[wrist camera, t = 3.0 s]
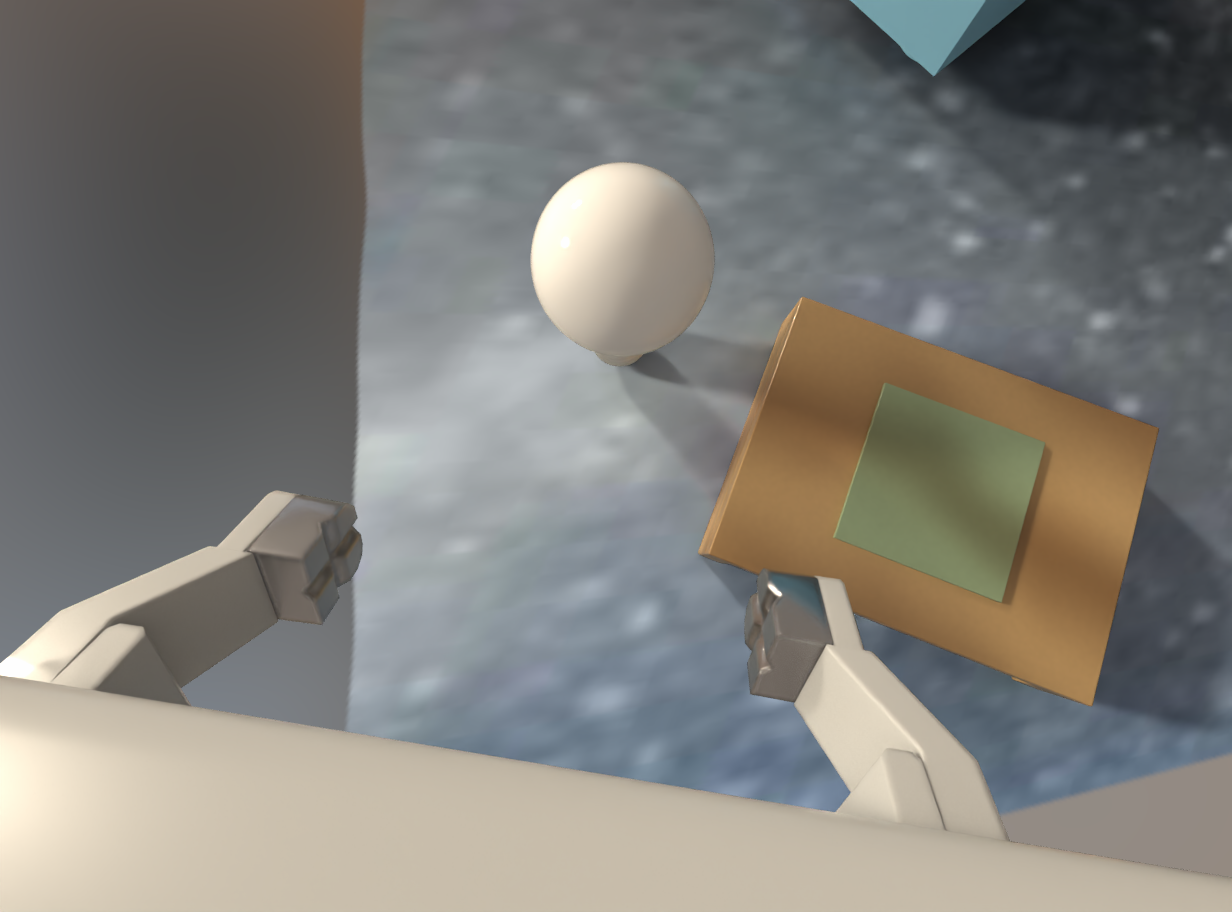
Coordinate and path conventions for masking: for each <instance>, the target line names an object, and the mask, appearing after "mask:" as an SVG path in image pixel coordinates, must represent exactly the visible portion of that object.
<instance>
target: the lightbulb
mask: <svg viewBox="0 0 1232 912" xmlns="http://www.w3.org/2000/svg"><path fill="white" fill-rule="evenodd" d="M714 262H715V255H714V244H713V238H712V234H711V230H710V227H709V224H708V222H707V219H706V217H705V215H704V213H703V211H702V209H701V207H700V206H699V204H698V203H697V201H696V200H695V199H694V197H693V196H692V195H691V194H690V193H689V191H688V190H687V189H686V188H685V187H684V186H683V185H681V184H680V183H679V182H678V181H676V180H675V179H674V178H672V177H671V176H669V175H668V174H666V173H664V172H662V171H660V170H658V169H655V168H653V167H650V166H646V165H642V164H637V163H629V162H617V163H608V164H604V165H600V166H596V167H593V168H591V169H588V170H586V171H584V172H582V173H580V174H578V175H577V176H575V177H574V178H572V179H571V180H569V181H568V182H567V183H566V184H564V185H563V186H562V187H561V188H560V189H559V190H558V191H557V192H556V193H555V195H554V196H553V197H552V198H551V200H550V201H549V202H548V204H547V205H546V207H545V209H544V210H543V212H542V214H541V216H540V219H539V221H538V223H537V226H536V229H535V232H534V236H533V241H532V247H531V273H532V279H533V284H534V288H535V291H536V294H537V296H538V299H539V301H540V303H541V305H542V307H543V309H544V311H545V313H546V314H547V316H548V317H549V319H550V320H551V321H552V323H553V324H554V325H555V326H556V327H557V328H558V329H559V330H560V331H561V332H562V333H563V334H564V335H565V336H566V337H568V338H569V339H570V340H572V341H573V342H575V343H576V344H578V345H580V346H581V347H583V348H585V349H588V350H590V351H593V352H595V354H596V355H597V356H598V358H599V359H601V360H602V361H603V362H605V363H607V364H609V365H612V366H627V365H630V364H632V363H634V362H636V361H637V360H638V359H639V358H640V357H641V356H642V355H643V354H645V353H649V352H652V351H654V350H657V349H659V348H661V347H663V346H665V345H667V344H668V343H670V342H672V341H673V340H675V339H676V338H677V337H678V336H680V335H681V334H682V333H683V332H684V331H685V330H686V329H687V328H688V327H689V326H690V325H691V324H692V322H693V321H694V320H695V318H696V317H697V316H698V314H699V312H700V311H701V309H702V307H703V305H704V303H705V301H706V299H707V296H708V294H709V291H710V287H711V284H712V279H713V274H714Z"/></svg>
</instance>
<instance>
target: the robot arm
mask: <svg viewBox="0 0 1232 912" xmlns="http://www.w3.org/2000/svg"><path fill="white" fill-rule="evenodd" d="M356 520H357V515H356V511H355V507H354V506H353V505H351V504H349V503H344V502H338V501H333V500H328V499H322V498H317V497H311V496H306V495H297V494H292V493H286V492H281V491H274V492H272V493H269V494H268V495H266V496H265V498H263V500H262V501H261V502H260V503H259V504H258V505H257V506H256V507H255V508H254V509H253V510H252V511H251V512H250V513H249V514H248V515H247V516H246V517H245V519H243V520H242V522H241V523H240V524H239V525H238V526H237V527H236V528H235V529H234V530H233V531H232V532H231V533H230V534H229V535H228V536H227V537H226V538H225V539H224V540H223V542H221V544H220V545H219V546H218V547H212V546H208V547H206V548H204V549H201V550H199V551H197V552H195V553H192V554H190V555H188V556H185V557H183V558H181V559H178V560H176V561H174V562H172V563H169V564H167V565H165V566H162V567H160V568H158V569H156V570H153V571H151V572H149V573H146V574H144V575H142V576H139V577H137V578H135V579H133V580H130V581H128V582H126V583H123V584H121V585H119V586H116V587H114V588H112V589H109V590H107V591H105V592H103V593H100V594H98V595H96V596H93V597H91V598H89V599H86V600H84V601H82V602H80V603H77V604H75V605H73V606H70V607H68V608H66V609H64V610H61V611H60V612H59V613H58V614H56V615H55V616H54V617H53V618H52V619H51V620H50V621H48V622H47V623H46V624H45V625H44V626H43V627H42V628H41V629H39V630H38V631H37V632H36V633H35V634H34V635H33V636H32V637H30V638H29V639H28V640H27V641H26V642H25V643H24V644H22V645H21V646H20V647H19V648H18V649H17V650H16V651H15V652H13V654H11V655H10V656H9V657H8V658H7V659H6V660H4V661H3V662H2V663H1V664H0V912H1232V877H1227V876H1221V875H1214V874H1208V873H1201V872H1194V871H1188V870H1182V869H1176V868H1170V867H1164V866H1158V865H1152V864H1146V863H1140V862H1134V861H1127V860H1121V859H1115V858H1109V857H1103V856H1097V855H1091V854H1085V853H1079V852H1073V851H1067V850H1061V849H1055V848H1048V847H1042V846H1036V845H1030V844H1024V843H1018V842H1012V841H1010V840H1009V837H1008V835H1007V832H1006V830H1005V828H1004V825H1003V823H1002V820H1001V818H1000V815H999V813H998V810H997V808H996V805H995V803H994V800H993V798H992V795H991V793H990V790H989V788H988V785H987V783H986V780H985V778H984V775H983V773H982V770H981V768H980V766H979V763H978V761H977V760H976V759H975V758H974V757H973V756H972V755H971V754H970V752H969V751H968V750H967V749H966V748H965V747H964V746H963V745H962V744H961V743H960V742H959V741H958V740H957V739H956V738H955V737H954V736H953V735H952V734H951V733H950V732H949V731H948V730H947V729H946V728H945V727H944V726H943V725H942V724H941V722H940V721H939V720H938V719H937V718H936V717H935V716H934V715H933V714H932V713H931V712H930V711H929V710H928V709H927V708H926V707H925V706H924V705H923V704H922V703H921V702H920V701H919V700H918V699H917V698H916V697H915V696H914V695H913V694H912V692H911V691H910V690H909V689H908V688H907V687H906V686H905V685H904V684H903V683H902V682H901V681H900V680H899V679H898V678H897V677H896V676H895V675H894V674H893V673H892V672H891V671H890V670H889V669H888V668H887V667H886V666H885V665H884V664H883V662H882V661H881V660H880V659H879V658H878V657H877V656H876V655H875V654H874V653H873V652H871V651H865V650H864V648H863V644H862V641H861V638H860V634H859V631H858V628H857V624H856V621H855V618H854V614H853V611H852V608H851V604H850V601H849V598H848V594H847V591H846V587H845V584H844V583H843V582H842V580H841V579H835V578H828V577H821V576H812V575H807V574H800V573H794V572H787V571H780V570H773V569H766V568H763V569H762V570H761V572H760V573H759V576H758V578H757V581H756V582H757V591H758V592H757V593H755V594H754V595H752V596H750V599H749V602H748V605H747V609H746V615H745V621H744V634H745V644H746V645H747V646H748V647H749V649H750V650H751V651H752V652H751V655H750V657H749V660H748V662H747V668H748V677H749V687H750V694H752V695H758V696H763V697H768V698H773V699H779V700H784V701H789V702H795V703H794V706H795V707H796V709H797V710H798V712H799V713H800V715H801V716H802V718H803V719H804V721H805V722H806V724H807V726H808V727H809V729H810V730H811V732H812V733H813V735H814V736H815V738H816V739H817V741H818V742H819V744H820V746H821V747H822V749H823V750H824V752H825V753H826V755H827V756H828V758H829V759H830V761H831V762H832V764H833V766H834V767H835V769H836V770H837V772H838V773H839V775H840V776H841V778H842V779H843V781H844V782H845V784H846V786H847V787H848V789H849V790H850V792H851V793H850V795H849V796H848V797H847V798H846V800H845V801H844V802H843V804H842V805H841V806H840V807H839V809H838V810H837V811H836V812H829V811H823V810H817V809H811V808H805V807H799V806H792V805H786V804H780V803H774V802H768V801H762V800H756V799H750V798H744V797H738V796H732V795H726V794H720V793H714V792H707V791H701V790H695V789H689V788H683V787H677V786H671V785H665V784H659V783H653V782H647V781H641V780H635V779H628V778H622V777H616V776H610V775H604V774H598V773H592V772H586V771H580V770H574V769H568V768H562V767H556V766H550V765H544V764H538V763H532V762H526V761H520V760H514V759H508V758H502V757H496V756H490V755H484V754H478V753H472V752H466V751H460V750H453V749H447V748H441V747H435V746H429V745H423V744H417V743H411V742H405V741H399V740H393V739H387V738H381V737H375V736H369V735H363V734H356V733H350V732H344V731H338V730H332V729H326V728H320V727H314V726H308V725H302V724H296V723H289V722H284V721H277V720H271V719H266V718H259V717H253V716H247V715H241V714H235V713H229V712H223V711H217V710H210V709H205V708H199V707H193V706H191V704H190V703H189V701H188V700H187V698H186V696H185V695H184V693H183V691H182V690H181V688H182V687H183V686H185V685H186V684H187V683H189V682H191V681H192V680H193V679H195V678H196V677H198V676H199V675H201V674H202V673H204V672H205V671H207V670H208V669H210V668H211V667H213V666H214V665H215V664H217V663H218V662H220V661H221V660H223V659H224V658H226V657H227V656H229V655H230V654H231V653H233V652H234V651H236V650H237V649H239V648H240V647H242V646H243V645H245V644H246V643H248V642H249V641H251V640H252V639H253V638H255V637H256V636H258V635H259V634H261V633H262V632H264V631H265V630H266V629H268V628H269V627H271V626H272V625H274V624H275V623H277V622H278V619H281V620H288V621H296V622H303V623H311V624H318V625H322V624H323V622H324V621H325V619H326V618H327V616H328V615H329V613H330V612H331V610H332V609H333V607H334V605H335V604H336V602H337V601H338V599H339V594H338V589H337V588H338V587H340V586H341V585H343V584H345V583H347V582H348V581H350V580H351V579H352V577H353V575H354V574H355V572H356V571H357V569H358V566H359V563H360V560H361V556H362V545H363V543H362V538H361V534H360V533H359V532H358V531H357V530H356V529H355V528H354V527H353V526H352V525H353V524H354V522H355V521H356Z"/></svg>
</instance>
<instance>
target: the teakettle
mask: <svg viewBox="0 0 1232 912" xmlns="http://www.w3.org/2000/svg"><path fill="white" fill-rule="evenodd" d="M850 1H851V2H853V3H854V4H855V5H856V6H857V7H858V8H859V9H860V10H861V11H863V12H864V13H865V14H866V15H867V16H868V17H869V18H870V19H871V20H872V21H874V22H875V23H876V24H877V25H878V26H879V27H880V28H881V29H882V30H883V31H884V32H886V33H887V34H888V35H889V36H890V37H891V38H892V39H893V40H894V41H895V42H896V43H898V44H899V45H900V46H901V48H902V50H903V51H904V53H905V54H906V55H907V56H908V57H910V58H911V59H912V60H914V61H916V62H918V63H919V64H920V65H922V66H923V67H924V68H925V69H926V70H927V71H928V72H929V73H930V74H931V75H933V76H935V75H936V74H937V73H939V72H940V71H941V70H942V69H944V68H945V67H946V66H947V65H948V64H950V63H951V62H952V61H953V60H954V59H956V58H957V57H958V56H959V55H960V54H962V53H963V52H964V51H965V50H967V49H968V48H969V47H970V46H971V45H973V44H974V43H975V42H976V41H977V40H979V39H980V38H981V37H982V36H983V35H985V34H986V33H987V32H988V31H989V30H991V29H992V28H993V27H994V26H995V25H997V24H998V23H999V22H1000V21H1001V20H1003V19H1004V18H1005V17H1006V16H1007V15H1009V14H1010V13H1011V12H1012V11H1013V10H1015V9H1016V8H1017V7H1018V6H1019V5H1021V4H1022V3H1023V2H1024V1H1025V0H850Z"/></svg>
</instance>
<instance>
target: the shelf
mask: <svg viewBox="0 0 1232 912" xmlns="http://www.w3.org/2000/svg"><path fill="white" fill-rule="evenodd" d="M1158 431H1159V428H1157V427H1154V426H1151V425H1149V424H1146V423H1143V422H1141V421H1138V420H1135V419H1133V418H1130V417H1127V416H1124V415H1122V414H1119V413H1116V412H1114V411H1111V410H1108V409H1105V408H1103V407H1100V406H1097V405H1095V404H1092V403H1089V402H1087V401H1084V400H1081V399H1078V398H1076V397H1073V396H1070V395H1068V394H1065V393H1062V392H1059V391H1057V390H1054V389H1051V388H1049V387H1046V386H1043V385H1040V384H1038V383H1035V382H1032V381H1030V380H1027V379H1024V378H1022V377H1019V376H1016V375H1013V374H1011V373H1008V372H1005V371H1003V370H1000V369H997V368H994V367H992V366H989V365H986V364H984V363H981V362H978V361H976V360H973V359H970V358H967V357H965V356H962V355H959V354H957V353H954V352H951V351H948V350H946V349H943V348H940V347H938V346H935V345H932V344H929V343H927V342H924V341H921V340H919V339H916V338H913V337H911V336H908V335H905V334H902V333H900V332H897V331H894V330H892V329H889V328H886V327H883V326H881V325H878V324H875V323H873V322H870V321H867V320H865V319H862V318H859V317H856V316H854V315H851V314H848V313H846V312H843V311H840V310H837V309H835V308H832V307H829V306H827V305H824V304H821V303H818V302H816V301H813V300H810V299H808V298H805V297H801V299H800V300H799V301H798V303H797V304H796V305H795V307H794V308H793V310H792V311H791V312H790V314H789V315H788V316H787V318H786V319H785V320H784V322H783V323H782V325H781V328H780V330H779V333H778V336H777V338H776V341H775V344H774V347H773V349H772V352H771V355H770V358H769V360H768V363H767V366H766V368H765V371H764V374H763V377H762V379H761V382H760V385H759V388H758V390H757V393H756V396H755V398H754V401H753V404H752V407H751V409H750V412H749V415H748V418H747V420H746V423H745V426H744V428H743V431H742V434H741V437H740V439H739V442H738V445H737V447H736V450H735V453H734V456H733V458H732V461H731V464H730V467H729V469H728V472H727V475H726V477H725V480H724V483H723V486H722V488H721V491H720V494H719V497H718V499H717V502H716V505H715V507H714V510H713V513H712V516H711V518H710V521H709V524H708V527H707V529H706V532H705V535H704V537H703V540H702V543H701V546H700V548H699V551H698V554H699V555H702V556H704V557H707V558H709V559H712V560H714V561H717V562H719V563H726V564H731V565H733V566H736V567H738V568H741V569H743V570H746V571H748V572H751V573H753V574H756V575H758V576H759V573H760V572H761V570H762V569H763V568H766V569H773V570H780V571H787V572H794V573H800V574H807V575H812V576H821V577H828V578H835V579H841V580H842V582H843V583H844V584H845V587H846V591H847V594H848V598H849V601H850V604H851V608H852V611H853V613H854V614H856V615H859V616H861V617H864V618H866V619H869V620H871V621H874V622H876V623H879V624H881V625H884V626H886V627H889V628H891V629H894V630H896V631H899V632H901V633H904V634H906V635H909V636H911V637H914V638H916V639H919V640H921V641H924V642H926V643H929V644H931V645H934V646H936V647H939V648H942V649H944V650H947V651H949V652H952V653H954V654H957V655H959V656H962V657H964V658H967V659H969V660H972V661H974V662H977V663H979V664H982V665H984V666H987V667H989V668H992V669H994V670H997V671H999V672H1002V673H1004V674H1007V675H1009V676H1012V679H1013V680H1015V681H1018V682H1020V683H1023V684H1025V685H1028V686H1030V687H1033V688H1035V689H1038V690H1041V691H1044V692H1047V693H1050V694H1053V695H1057V696H1060V697H1063V698H1066V699H1069V700H1072V701H1075V702H1078V703H1081V704H1084V705H1087V706H1092V705H1093V701H1094V697H1095V693H1096V689H1097V684H1098V680H1099V676H1100V672H1101V668H1102V664H1103V659H1104V655H1105V651H1106V647H1107V643H1108V639H1109V635H1110V630H1111V626H1112V622H1113V618H1114V614H1115V610H1116V606H1117V601H1118V597H1119V593H1120V589H1121V585H1122V581H1123V576H1124V572H1125V568H1126V564H1127V560H1128V556H1129V552H1130V547H1131V543H1132V539H1133V535H1134V531H1135V527H1136V523H1137V518H1138V514H1139V510H1140V506H1141V502H1142V498H1143V493H1144V489H1145V485H1146V481H1147V477H1148V473H1149V469H1150V464H1151V460H1152V456H1153V452H1154V448H1155V444H1156V440H1157V435H1158Z"/></svg>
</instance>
